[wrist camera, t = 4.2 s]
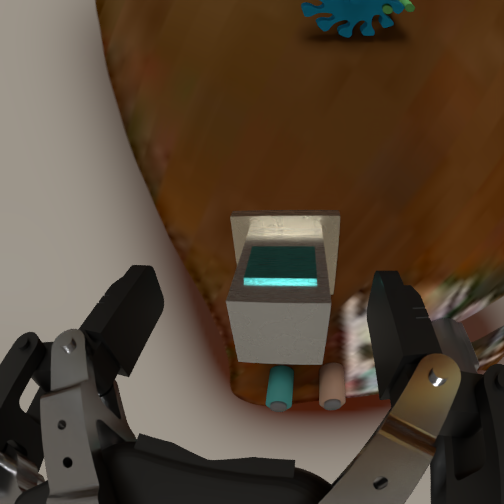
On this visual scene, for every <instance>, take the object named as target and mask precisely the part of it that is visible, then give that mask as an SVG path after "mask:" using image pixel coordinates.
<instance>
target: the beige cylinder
mask: <svg viewBox="0 0 504 504" xmlns="http://www.w3.org/2000/svg"><path fill="white" fill-rule="evenodd" d="M319 378H320V386H319V404H320V406H322V407H324V408H325V409H327V410H336V409H338V408H340V407H341V406H342V405H343V404H344V403H345V383H344V369H343V366H342V365H341V364H339V363H328V364H325V365H323V366H322V367H321V368H320V370H319Z"/></svg>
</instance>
